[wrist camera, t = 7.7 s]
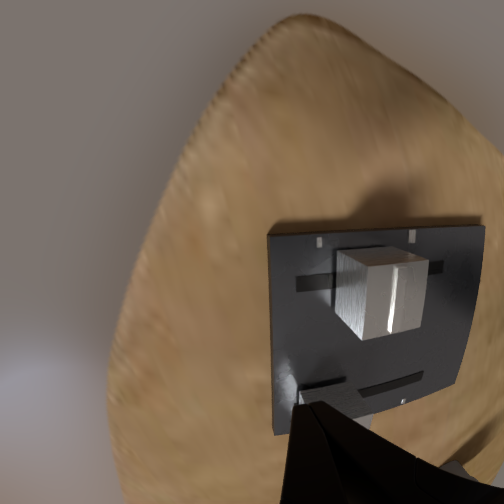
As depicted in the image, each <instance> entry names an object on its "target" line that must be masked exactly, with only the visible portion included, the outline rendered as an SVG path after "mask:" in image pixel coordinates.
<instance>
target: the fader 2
mask: <svg viewBox="0 0 504 504" xmlns="http://www.w3.org/2000/svg"><path fill="white" fill-rule="evenodd" d="M428 266H429V260H428V259H425V258H423V257H420V256H417V255H414V254H412V253H409V252H406V251H403V250H401V249H398V248H395V247H392V246H388V247H376V248H363V249H350V250H337V273H336V301H335V313H336V314H337V315H338V316H339V317H340V318H341V319H342V320H343V321H344V322H345V323H346V324H347V325H348V326H349V327H350V328H351V329H352V331H353V332H354V333H355V334H356V335H357V336H358V337H359V338H360V339H361V340H367V339H372V338H376V337H381V336H385V335H390V334H394V333H398V332H403V331H407V330H411V329H415V328H419V327H420V325H421V320H422V314H423V307H424V300H425V293H426V285H427V276H428Z"/></svg>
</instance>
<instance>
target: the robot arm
mask: <svg viewBox="0 0 504 504" xmlns="http://www.w3.org/2000/svg"><path fill="white" fill-rule="evenodd" d="M280 504H504V488H499V487H494V486H491V485H487V484H484V483H480V482H477V481H474V480H470V479H467V478H464V477H461V476H458V475H455V474H453V473H450V472H447V471H445V470H443V469H440V468H438V467H436V466H434V465H432V464H430V463H428V462H426V461H424V460H422V459H420V458H416V456H414V455H412V454H411V453H409V452H407V451H405V450H403V449H402V448H400V447H398V446H396V445H394V444H393V443H391V442H389V441H387V440H386V439H384V438H382V437H381V436H379V435H377V434H375V433H374V432H372V431H370V430H369V429H367V428H366V427H364V426H362V425H361V424H359V423H357V422H356V421H354V420H353V419H351V418H349V417H348V416H346V415H345V414H343V413H342V412H340V411H338V410H337V409H335V408H334V407H332V406H331V405H329V404H328V403H326V402H325V401H322V400H320V401H315V402H310V403H309V404H306V403H304V404H299V405H294V406H293V408H292V417H291V425H290V434H289V442H288V450H287V458H286V465H285V472H284V479H283V486H282V492H281V500H280Z"/></svg>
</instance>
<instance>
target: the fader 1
mask: <svg viewBox="0 0 504 504" xmlns="http://www.w3.org/2000/svg"><path fill="white" fill-rule="evenodd" d="M320 400H322V401H325V402H326V403H328V404H329V405H331V406H332V407H334V408H335V409H337V410H338V411H340V412H342V413H343V414H345V415H346V416H348V417H349V418H351V419H353V420H354V421H356V422H357V423H359V424H361V425H362V426H364V427H366V428H367V429H369V428H370V425H371V421H372V417H373V412H372V411H371V409H370V408H369V406H368V405H367V403H366V402H365V401H364V399H363V398H362V396H361V395H360V393H359V392H358V391H357V389H356V388H355V386H354V385H353V383H352V382H351V381H349V382H344V383H340V384H335V385H330V386H325V387H320V388H315V389H309V390H303V391H299V404H304V403H306V404H309V403H310V402H315V401H320Z"/></svg>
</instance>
